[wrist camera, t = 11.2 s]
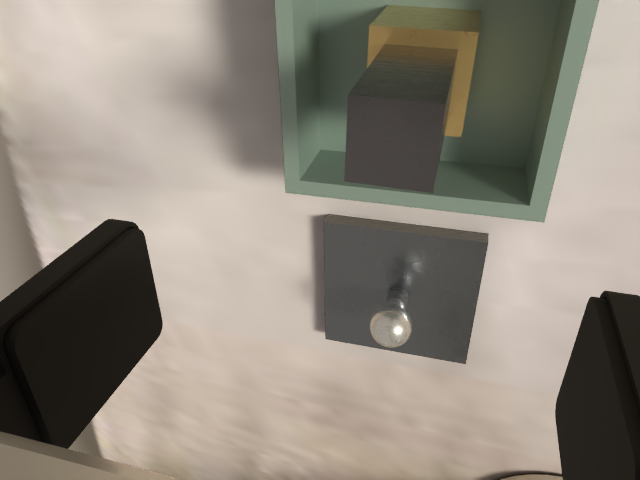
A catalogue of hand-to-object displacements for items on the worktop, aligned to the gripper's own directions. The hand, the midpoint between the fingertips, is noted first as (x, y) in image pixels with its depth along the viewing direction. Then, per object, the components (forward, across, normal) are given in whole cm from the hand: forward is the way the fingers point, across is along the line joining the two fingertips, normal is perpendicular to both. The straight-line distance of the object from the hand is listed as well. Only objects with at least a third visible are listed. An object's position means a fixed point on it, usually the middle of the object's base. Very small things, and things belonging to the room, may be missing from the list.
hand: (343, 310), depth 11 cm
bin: (+20, 0, -1) cm, 20 cm away
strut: (+20, 0, -1) cm, 20 cm away
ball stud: (+21, +1, +14) cm, 25 cm away
